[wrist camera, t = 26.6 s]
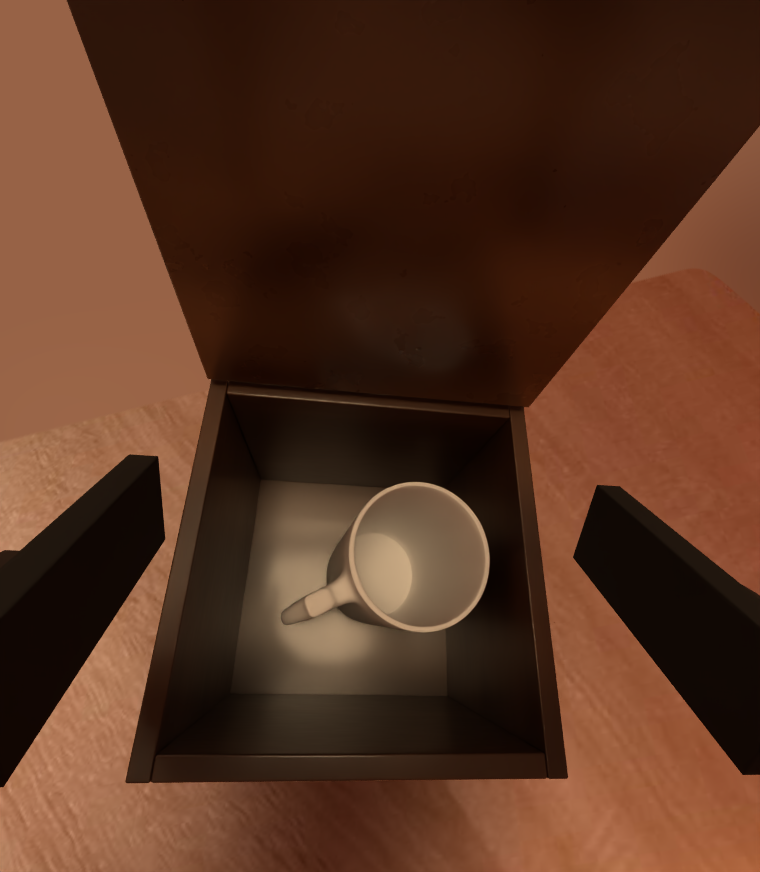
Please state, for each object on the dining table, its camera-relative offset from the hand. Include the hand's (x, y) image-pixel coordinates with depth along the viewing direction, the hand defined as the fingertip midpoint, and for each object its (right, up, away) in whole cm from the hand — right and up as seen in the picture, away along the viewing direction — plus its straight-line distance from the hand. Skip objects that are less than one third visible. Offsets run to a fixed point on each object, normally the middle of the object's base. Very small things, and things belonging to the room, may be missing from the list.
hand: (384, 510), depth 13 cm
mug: (-2, -8, +17) cm, 19 cm away
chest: (-3, -8, +18) cm, 20 cm away
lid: (+1, +8, +1) cm, 8 cm away
